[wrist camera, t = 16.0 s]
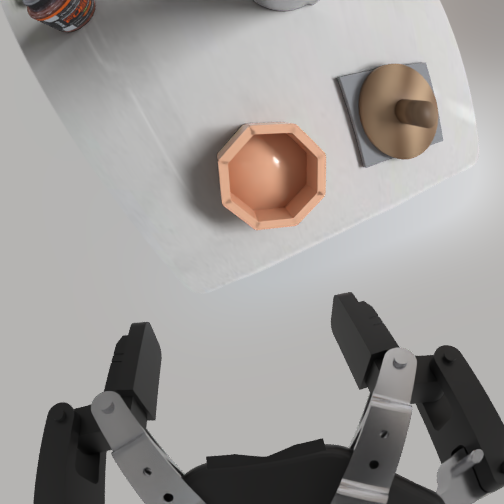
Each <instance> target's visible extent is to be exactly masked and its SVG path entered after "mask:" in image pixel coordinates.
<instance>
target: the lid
mask: <svg viewBox="0 0 504 504" xmlns="http://www.w3.org/2000/svg"><path fill="white" fill-rule="evenodd" d="M358 108H359V116H360V121H361V124H362V127H363V129H364V132H365V134H366V135H367V137H368V139H369V140H370V141H371V143H372V144H373V145H374V146H375V147H376V148H377V149H378V150H379V151H381V152H383V153H384V154H386V155H388V156H391V157H394V158H397V159H411V158H414V157H417V156H418V155H420V154H422V153H423V152H424V151H425V150H426V149H427V148H428V147H429V145H430V144H431V142H432V141H433V139H434V136H435V134H436V130H437V125H438V108H437V103H436V99H435V96H434V93H433V91H432V89H431V87H430V86H429V84H428V83H427V81H426V80H425V79H424V78H423V76H422V75H420V74H419V73H418V72H417V71H415V70H414V69H412V68H410V67H408V66H405V65H402V64H388V65H383V66H380V67H378V68H376V69H374V70H373V71H372V72H371V73H370V74H369V75H368V76H367V77H366V79H365V81H364V82H363V85H362V87H361V90H360V94H359V103H358Z"/></svg>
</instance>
